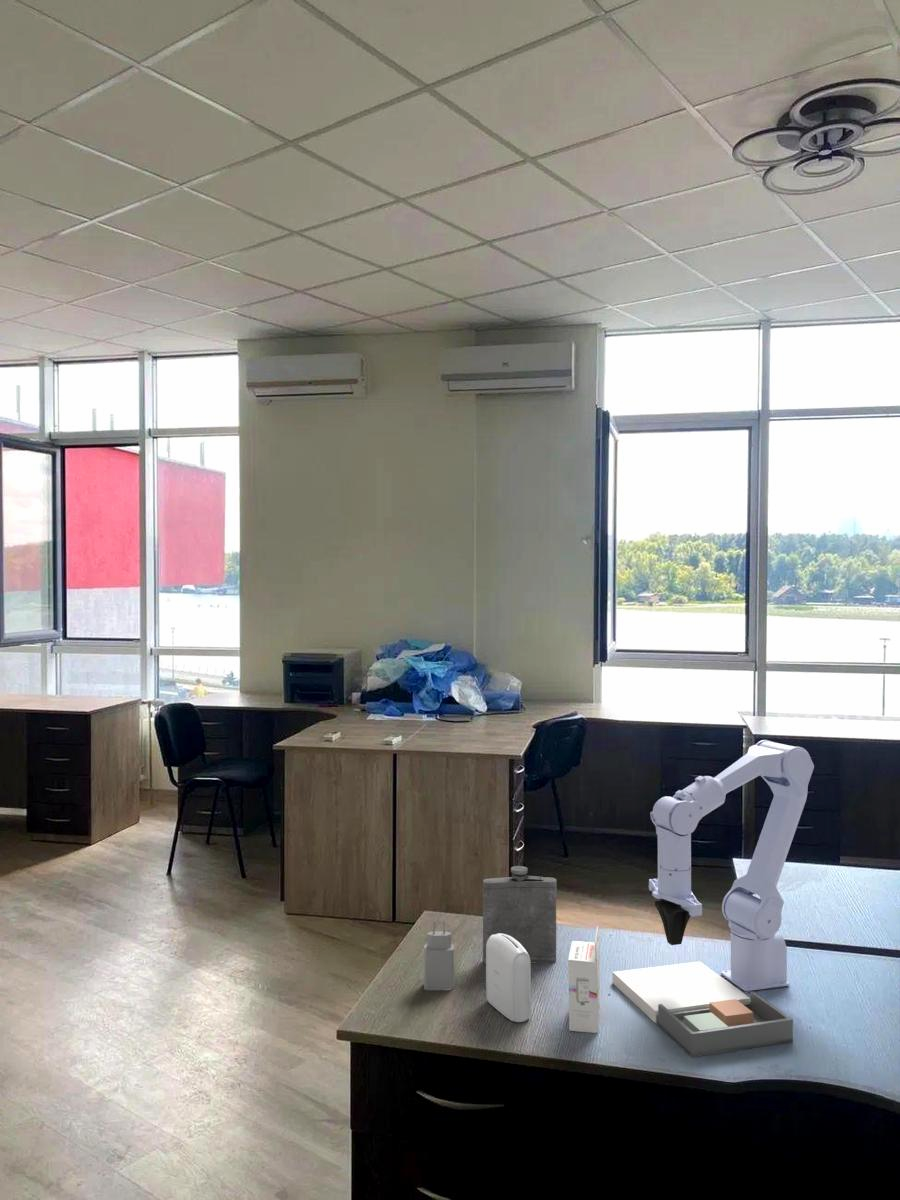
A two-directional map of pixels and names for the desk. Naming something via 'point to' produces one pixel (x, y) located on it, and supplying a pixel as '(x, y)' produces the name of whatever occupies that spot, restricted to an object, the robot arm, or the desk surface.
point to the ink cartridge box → (584, 985)
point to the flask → (522, 912)
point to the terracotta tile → (731, 1012)
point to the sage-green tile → (703, 1022)
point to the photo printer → (508, 977)
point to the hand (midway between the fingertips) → (674, 943)
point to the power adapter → (438, 960)
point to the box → (729, 1029)
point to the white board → (675, 987)
